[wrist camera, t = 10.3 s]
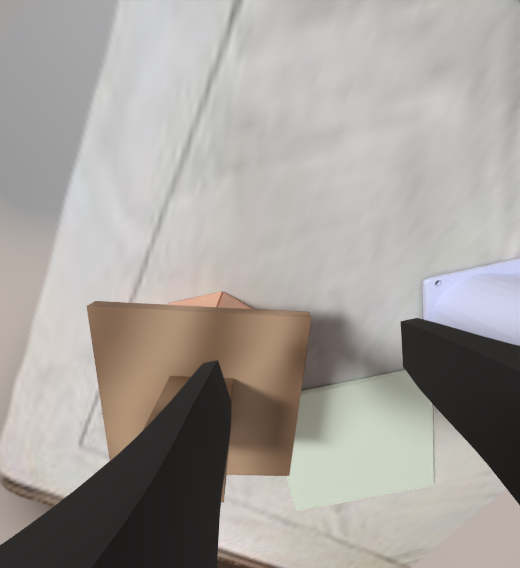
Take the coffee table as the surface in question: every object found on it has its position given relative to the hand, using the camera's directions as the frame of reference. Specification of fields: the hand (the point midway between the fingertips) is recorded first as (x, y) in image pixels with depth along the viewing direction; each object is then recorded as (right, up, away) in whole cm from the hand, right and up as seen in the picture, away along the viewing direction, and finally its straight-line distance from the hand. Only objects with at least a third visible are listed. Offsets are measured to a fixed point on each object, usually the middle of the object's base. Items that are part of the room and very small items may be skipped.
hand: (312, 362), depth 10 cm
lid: (-6, -5, +7) cm, 10 cm away
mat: (+8, -13, +15) cm, 21 cm away
